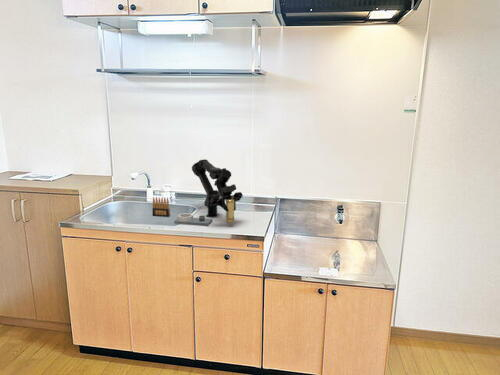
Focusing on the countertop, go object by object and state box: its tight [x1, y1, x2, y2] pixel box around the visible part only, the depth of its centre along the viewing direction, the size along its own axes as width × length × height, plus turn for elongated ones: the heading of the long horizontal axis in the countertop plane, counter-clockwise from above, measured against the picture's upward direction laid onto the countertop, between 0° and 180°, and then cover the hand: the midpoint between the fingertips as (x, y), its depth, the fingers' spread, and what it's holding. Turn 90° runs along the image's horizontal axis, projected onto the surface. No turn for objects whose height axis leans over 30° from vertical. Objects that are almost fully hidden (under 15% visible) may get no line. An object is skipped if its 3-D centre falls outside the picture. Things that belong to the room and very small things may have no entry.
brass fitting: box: [225, 198, 235, 224], centre depth 208 cm, size 4×4×13 cm
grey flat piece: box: [173, 212, 213, 227], centre depth 215 cm, size 9×20×4 cm, turn 80°
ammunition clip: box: [152, 196, 171, 218], centre depth 225 cm, size 11×2×12 cm, turn 80°
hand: (231, 210), depth 207 cm, fingers closed on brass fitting, 4 cm apart
